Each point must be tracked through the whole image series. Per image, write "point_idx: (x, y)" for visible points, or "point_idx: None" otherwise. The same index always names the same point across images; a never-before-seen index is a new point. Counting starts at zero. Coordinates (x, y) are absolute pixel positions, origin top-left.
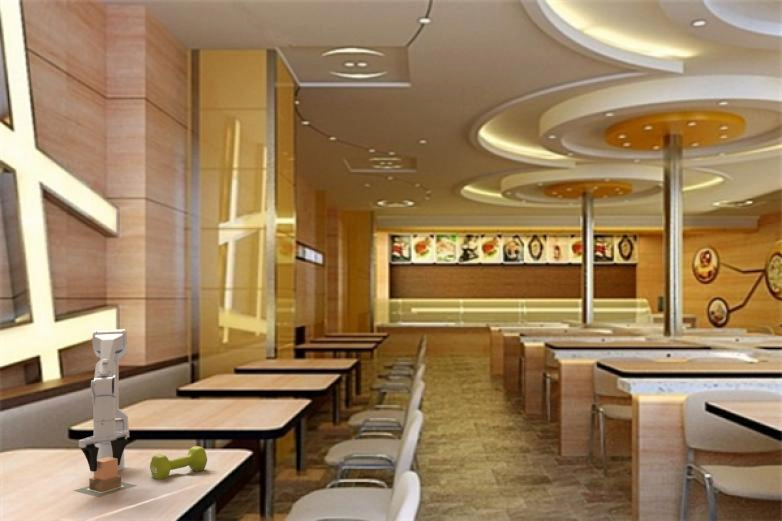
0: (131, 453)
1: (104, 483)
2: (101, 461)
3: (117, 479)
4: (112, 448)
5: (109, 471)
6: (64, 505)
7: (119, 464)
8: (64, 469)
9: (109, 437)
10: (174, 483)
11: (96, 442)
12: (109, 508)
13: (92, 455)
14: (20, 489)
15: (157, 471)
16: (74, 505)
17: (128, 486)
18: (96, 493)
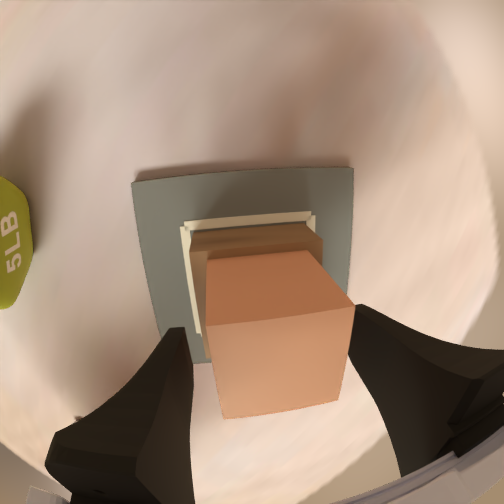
0: None
1: (301, 235)
2: (342, 340)
3: (214, 244)
4: (190, 464)
5: (275, 272)
6: (437, 216)
7: (169, 329)
8: (212, 493)
9: (472, 497)
10: (15, 106)
11: (432, 477)
12: (381, 24)
13: (459, 346)
14: (361, 438)
15: (8, 206)
16: (427, 182)
17: (168, 200)
18: (327, 227)
